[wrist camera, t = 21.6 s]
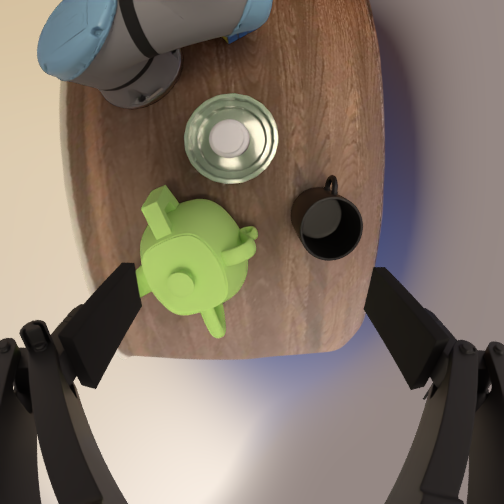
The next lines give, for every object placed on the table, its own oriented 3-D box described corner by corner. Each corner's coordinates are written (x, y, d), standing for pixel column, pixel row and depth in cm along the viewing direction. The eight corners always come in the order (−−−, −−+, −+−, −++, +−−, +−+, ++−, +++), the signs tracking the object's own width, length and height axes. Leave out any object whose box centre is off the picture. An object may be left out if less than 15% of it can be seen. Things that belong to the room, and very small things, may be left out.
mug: (350, 177, 43) (372, 185, 34) (337, 243, 47) (354, 264, 39) (297, 167, 42) (309, 172, 34) (286, 237, 46) (294, 257, 38)
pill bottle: (254, 150, 40) (256, 150, 31) (222, 162, 41) (214, 165, 32) (242, 119, 38) (240, 110, 29) (210, 131, 39) (199, 126, 30)
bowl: (177, 155, 41) (168, 156, 36) (219, 86, 37) (215, 78, 32) (246, 194, 44) (246, 200, 39) (289, 126, 40) (295, 123, 35)
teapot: (269, 220, 45) (277, 252, 32) (223, 311, 52) (216, 363, 39) (167, 176, 42) (132, 189, 29) (135, 274, 49) (102, 315, 35)
